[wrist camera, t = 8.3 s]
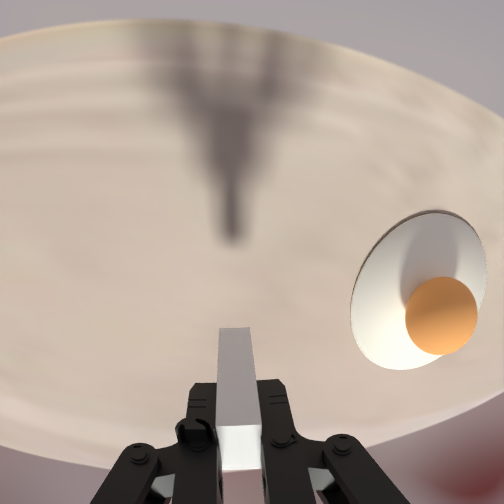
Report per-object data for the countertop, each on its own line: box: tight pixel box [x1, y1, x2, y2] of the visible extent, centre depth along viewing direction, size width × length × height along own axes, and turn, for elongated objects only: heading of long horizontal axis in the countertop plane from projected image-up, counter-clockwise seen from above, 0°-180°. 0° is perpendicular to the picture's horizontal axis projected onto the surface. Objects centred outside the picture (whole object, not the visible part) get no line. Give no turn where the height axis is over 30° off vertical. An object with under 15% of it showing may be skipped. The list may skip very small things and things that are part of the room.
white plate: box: [350, 213, 487, 370], centre depth 22 cm, size 13×13×1 cm
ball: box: [405, 277, 478, 355], centre depth 19 cm, size 6×6×6 cm
